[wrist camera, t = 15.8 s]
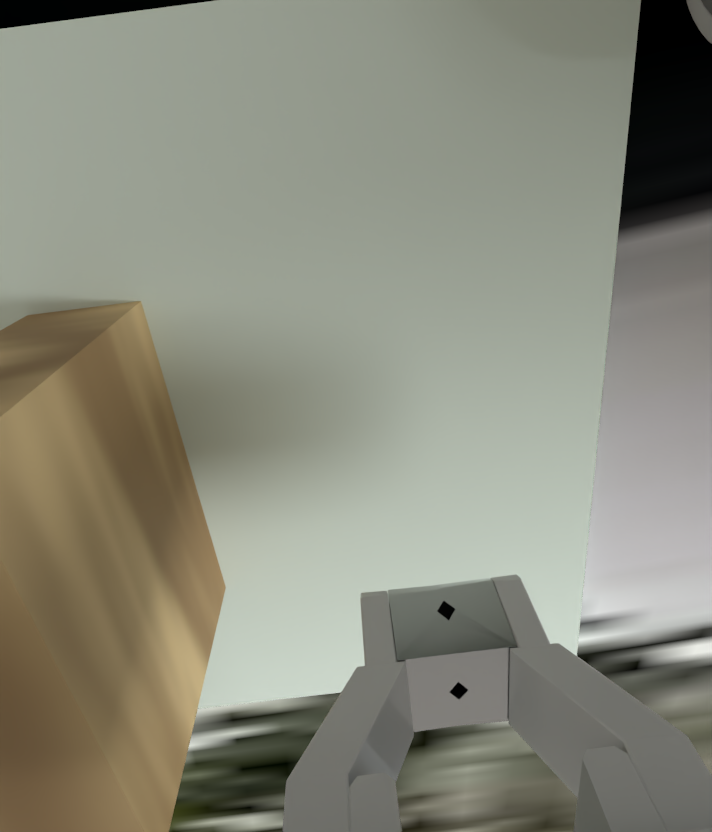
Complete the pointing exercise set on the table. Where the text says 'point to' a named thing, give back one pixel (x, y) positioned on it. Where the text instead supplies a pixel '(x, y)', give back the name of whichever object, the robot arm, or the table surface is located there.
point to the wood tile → (96, 577)
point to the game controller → (702, 16)
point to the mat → (342, 285)
